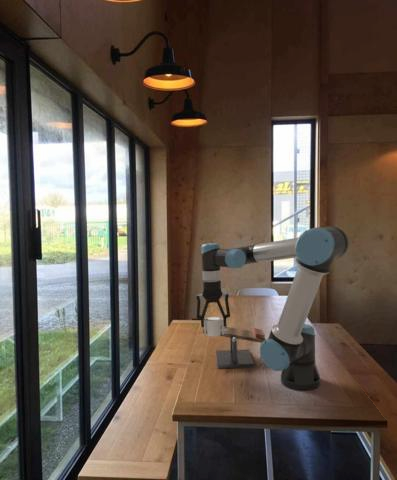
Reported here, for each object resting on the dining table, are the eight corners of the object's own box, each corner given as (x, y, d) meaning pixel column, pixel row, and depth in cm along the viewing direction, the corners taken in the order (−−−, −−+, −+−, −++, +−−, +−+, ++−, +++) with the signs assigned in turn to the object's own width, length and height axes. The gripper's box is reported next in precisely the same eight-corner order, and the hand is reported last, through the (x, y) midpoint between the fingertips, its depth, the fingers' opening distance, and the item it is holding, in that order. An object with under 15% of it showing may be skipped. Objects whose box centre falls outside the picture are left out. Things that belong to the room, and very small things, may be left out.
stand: (249, 352, 190) (248, 325, 189) (254, 366, 172) (253, 337, 171) (216, 353, 190) (214, 327, 189) (217, 368, 172) (216, 339, 171)
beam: (260, 338, 186) (262, 328, 185) (264, 345, 175) (266, 336, 174) (202, 328, 186) (204, 319, 185) (202, 335, 175) (204, 325, 174)
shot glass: (212, 331, 171) (211, 315, 170) (225, 334, 166) (224, 317, 166) (202, 335, 165) (202, 319, 165) (215, 338, 161) (215, 321, 161)
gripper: (234, 277, 168) (236, 330, 169) (188, 279, 168) (191, 332, 170) (236, 280, 161) (238, 335, 162) (187, 282, 161) (190, 337, 162)
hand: (214, 334), depth 166 cm, fingers closed on shot glass, 7 cm apart
